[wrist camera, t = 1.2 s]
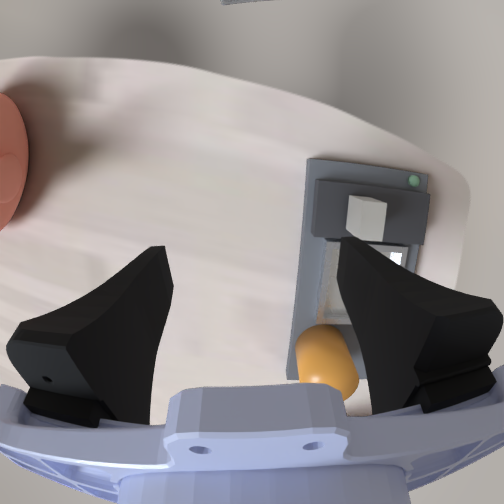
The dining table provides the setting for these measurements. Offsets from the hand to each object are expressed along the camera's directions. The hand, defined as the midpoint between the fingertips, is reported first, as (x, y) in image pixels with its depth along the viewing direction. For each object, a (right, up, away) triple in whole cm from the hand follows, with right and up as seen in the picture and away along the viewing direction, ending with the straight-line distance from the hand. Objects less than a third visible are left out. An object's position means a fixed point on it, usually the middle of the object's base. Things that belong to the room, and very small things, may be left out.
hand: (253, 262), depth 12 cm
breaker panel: (+9, -2, +13) cm, 16 cm away
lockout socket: (+9, -2, +11) cm, 15 cm away
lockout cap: (+6, -8, +13) cm, 16 cm away
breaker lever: (+7, +3, +8) cm, 11 cm away
